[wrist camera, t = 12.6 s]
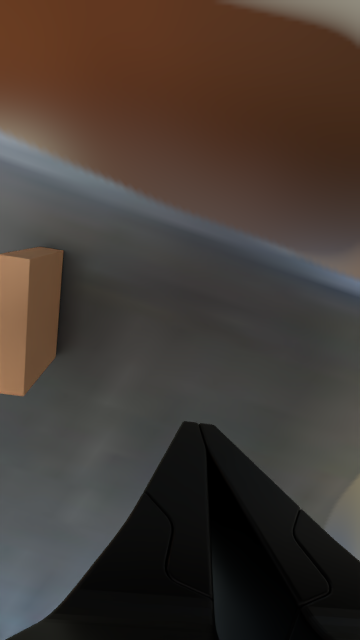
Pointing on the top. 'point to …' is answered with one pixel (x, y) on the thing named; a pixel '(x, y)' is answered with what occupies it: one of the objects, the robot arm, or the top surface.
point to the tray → (28, 315)
